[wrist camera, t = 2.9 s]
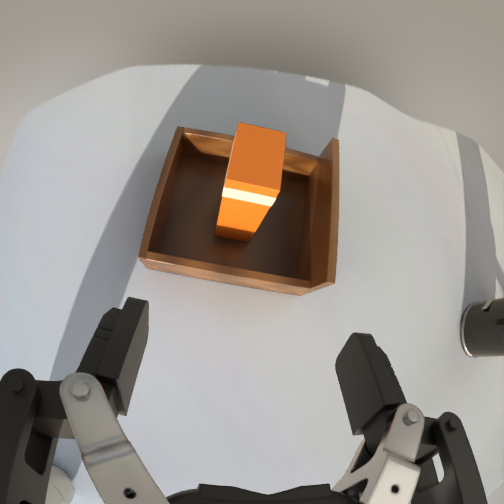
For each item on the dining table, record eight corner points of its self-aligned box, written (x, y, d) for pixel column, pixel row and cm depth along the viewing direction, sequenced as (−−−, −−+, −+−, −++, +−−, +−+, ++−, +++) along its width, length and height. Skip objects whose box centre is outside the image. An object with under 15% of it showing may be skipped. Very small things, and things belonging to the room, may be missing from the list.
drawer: (310, 177, 37) (338, 139, 29) (300, 295, 33) (335, 283, 25) (178, 150, 35) (176, 103, 27) (146, 268, 31) (128, 245, 22)
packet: (256, 198, 35) (287, 132, 22) (249, 242, 33) (280, 191, 21) (223, 191, 34) (238, 121, 22) (213, 235, 33) (224, 179, 20)
